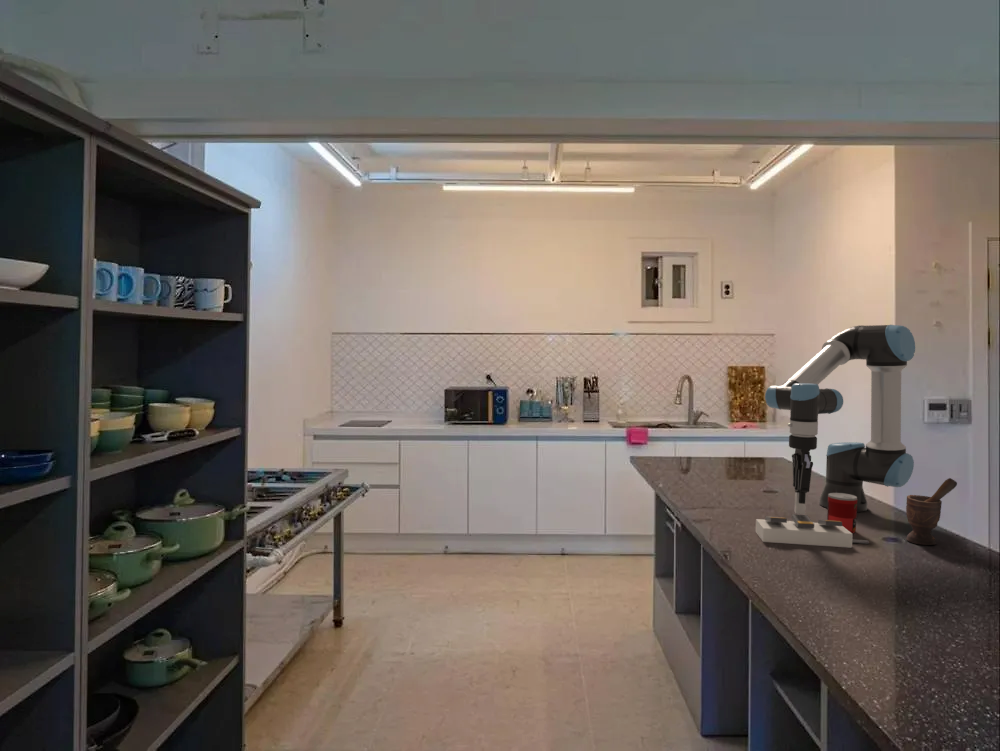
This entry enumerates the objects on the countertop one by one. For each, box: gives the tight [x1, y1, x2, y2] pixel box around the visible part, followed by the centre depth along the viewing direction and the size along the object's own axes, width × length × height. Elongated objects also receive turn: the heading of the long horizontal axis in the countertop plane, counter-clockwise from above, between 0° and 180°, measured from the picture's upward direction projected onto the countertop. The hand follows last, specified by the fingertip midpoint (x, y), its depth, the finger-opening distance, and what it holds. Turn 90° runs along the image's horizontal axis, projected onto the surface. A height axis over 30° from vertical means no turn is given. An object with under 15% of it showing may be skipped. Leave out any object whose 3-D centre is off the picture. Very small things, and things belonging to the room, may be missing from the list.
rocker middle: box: [791, 513, 815, 528], centre depth 188 cm, size 4×7×1 cm, turn 170°
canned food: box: [826, 493, 858, 534], centre depth 198 cm, size 8×8×11 cm
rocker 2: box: [817, 519, 842, 526], centre depth 186 cm, size 4×7×1 cm, turn 170°
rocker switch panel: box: [755, 518, 870, 549], centre depth 187 cm, size 30×10×4 cm, turn 80°
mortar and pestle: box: [905, 477, 958, 546], centre depth 186 cm, size 12×9×20 cm
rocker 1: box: [764, 516, 788, 523], centre depth 189 cm, size 4×7×1 cm, turn 170°
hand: (799, 513), depth 191 cm, fingers closed
